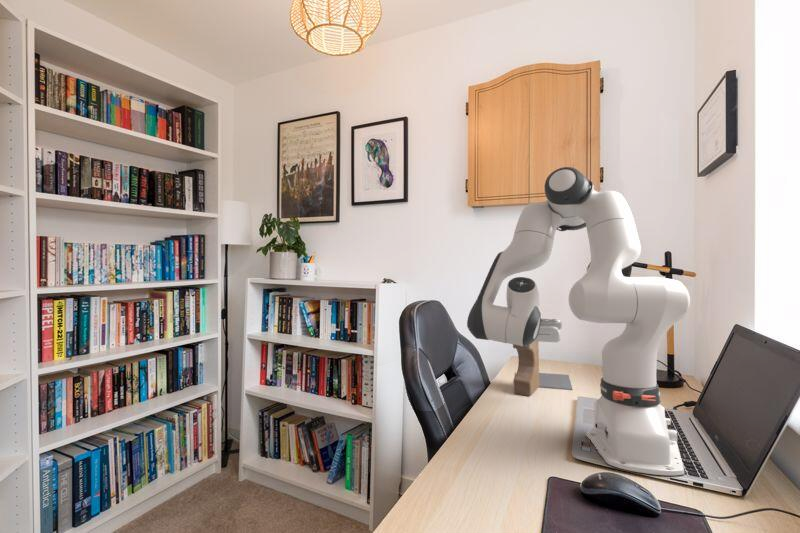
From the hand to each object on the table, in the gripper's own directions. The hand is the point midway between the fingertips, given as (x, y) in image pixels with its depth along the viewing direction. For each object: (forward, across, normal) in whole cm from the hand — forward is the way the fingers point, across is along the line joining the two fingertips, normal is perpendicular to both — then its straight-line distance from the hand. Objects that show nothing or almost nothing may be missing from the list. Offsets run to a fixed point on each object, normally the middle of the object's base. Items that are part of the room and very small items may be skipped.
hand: (525, 344), depth 124 cm
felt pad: (+27, -5, -3) cm, 28 cm away
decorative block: (+17, 0, +7) cm, 18 cm away
